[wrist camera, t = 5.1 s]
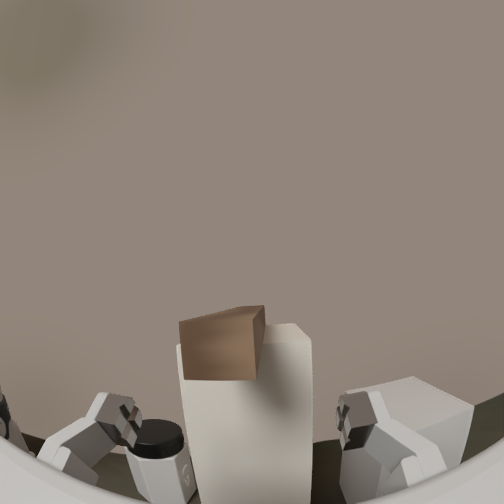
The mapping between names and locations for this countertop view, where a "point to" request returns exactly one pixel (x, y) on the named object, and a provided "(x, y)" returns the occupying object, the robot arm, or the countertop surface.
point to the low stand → (416, 418)
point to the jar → (161, 463)
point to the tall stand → (255, 426)
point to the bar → (223, 344)
